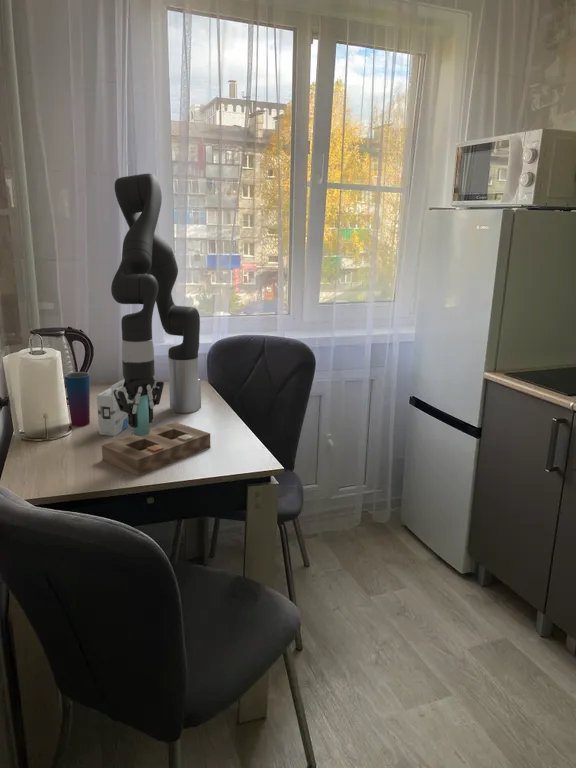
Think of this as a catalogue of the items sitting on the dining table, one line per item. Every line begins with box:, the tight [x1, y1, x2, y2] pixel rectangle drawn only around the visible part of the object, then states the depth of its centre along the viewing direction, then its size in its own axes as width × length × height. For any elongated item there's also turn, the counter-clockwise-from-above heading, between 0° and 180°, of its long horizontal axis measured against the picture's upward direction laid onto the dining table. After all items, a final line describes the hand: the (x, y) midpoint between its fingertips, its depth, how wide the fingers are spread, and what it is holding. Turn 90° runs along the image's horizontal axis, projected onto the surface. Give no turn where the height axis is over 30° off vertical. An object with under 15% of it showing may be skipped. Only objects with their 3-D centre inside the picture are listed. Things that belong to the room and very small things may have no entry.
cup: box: [64, 371, 91, 428], centre depth 169 cm, size 7×7×15 cm
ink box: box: [96, 378, 129, 437], centre depth 164 cm, size 9×5×15 cm, turn 168°
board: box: [101, 421, 211, 476], centre depth 149 cm, size 24×14×4 cm, turn 142°
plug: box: [132, 395, 150, 436], centre depth 143 cm, size 4×4×10 cm
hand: (140, 424), depth 144 cm, fingers closed on plug, 4 cm apart
